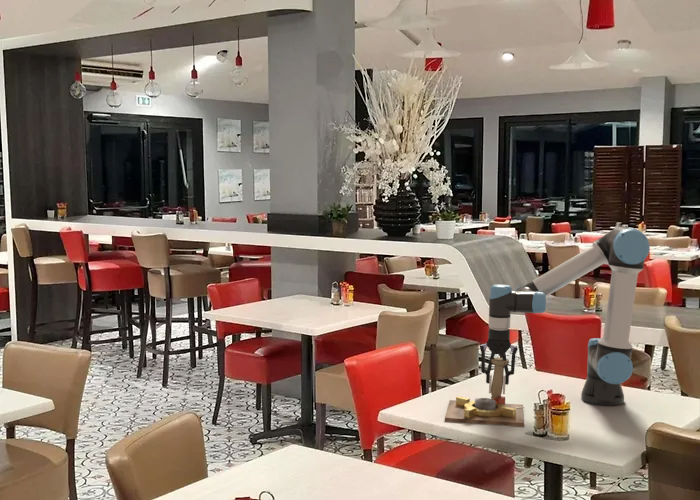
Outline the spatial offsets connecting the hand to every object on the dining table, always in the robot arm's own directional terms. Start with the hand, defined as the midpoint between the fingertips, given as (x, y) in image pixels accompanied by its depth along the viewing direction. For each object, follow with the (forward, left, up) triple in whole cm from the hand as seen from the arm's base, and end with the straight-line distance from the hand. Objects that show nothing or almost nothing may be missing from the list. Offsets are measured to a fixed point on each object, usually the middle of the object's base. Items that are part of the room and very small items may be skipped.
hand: (497, 392), depth 290 cm
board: (+4, +11, -5) cm, 13 cm away
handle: (0, 0, -3) cm, 3 cm away
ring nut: (+4, +11, -4) cm, 12 cm away
